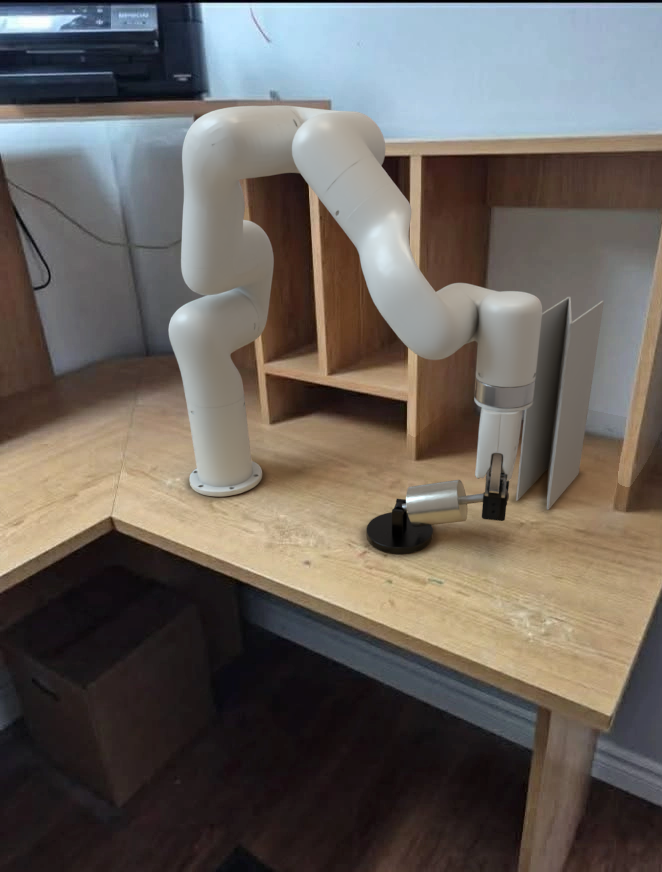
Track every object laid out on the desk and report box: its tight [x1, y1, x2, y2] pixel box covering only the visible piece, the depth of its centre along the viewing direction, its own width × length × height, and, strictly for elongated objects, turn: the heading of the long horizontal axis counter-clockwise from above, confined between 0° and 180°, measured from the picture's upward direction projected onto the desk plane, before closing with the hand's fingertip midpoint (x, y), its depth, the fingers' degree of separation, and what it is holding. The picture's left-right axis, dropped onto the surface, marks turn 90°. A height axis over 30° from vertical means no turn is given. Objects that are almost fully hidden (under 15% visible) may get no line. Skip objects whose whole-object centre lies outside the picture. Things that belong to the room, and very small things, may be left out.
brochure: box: [515, 296, 605, 511], centre depth 109 cm, size 14×6×30 cm, turn 145°
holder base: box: [365, 498, 434, 555], centre depth 103 cm, size 10×10×5 cm
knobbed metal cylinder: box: [393, 479, 510, 527], centre depth 99 cm, size 17×6×6 cm, turn 76°
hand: (494, 510), depth 98 cm, fingers closed on knobbed metal cylinder, 3 cm apart
